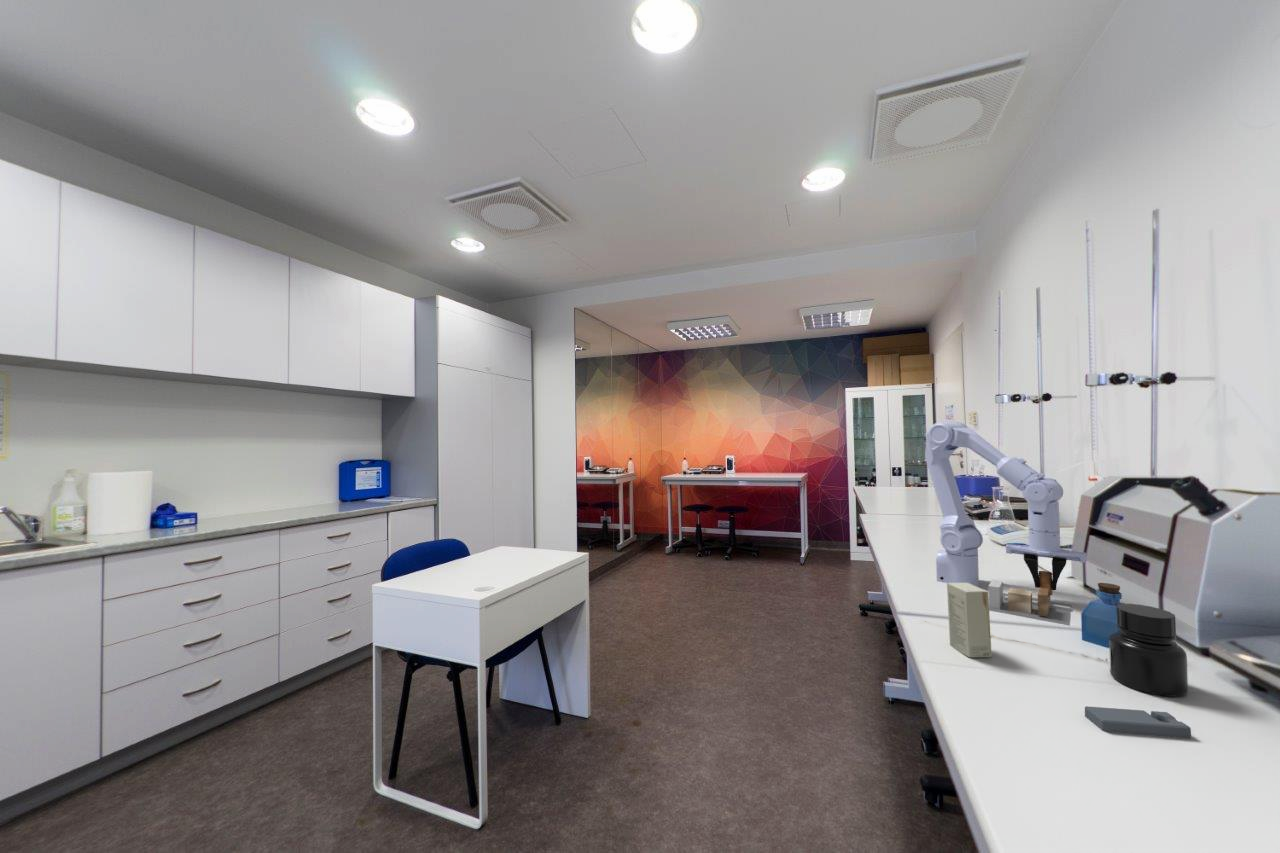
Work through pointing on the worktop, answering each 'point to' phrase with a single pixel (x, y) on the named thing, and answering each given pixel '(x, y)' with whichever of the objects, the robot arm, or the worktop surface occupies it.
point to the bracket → (1137, 722)
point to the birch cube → (1020, 600)
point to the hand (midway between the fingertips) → (1045, 588)
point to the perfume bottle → (1101, 615)
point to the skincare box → (969, 619)
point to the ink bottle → (1148, 651)
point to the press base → (1056, 609)
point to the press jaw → (1044, 592)
